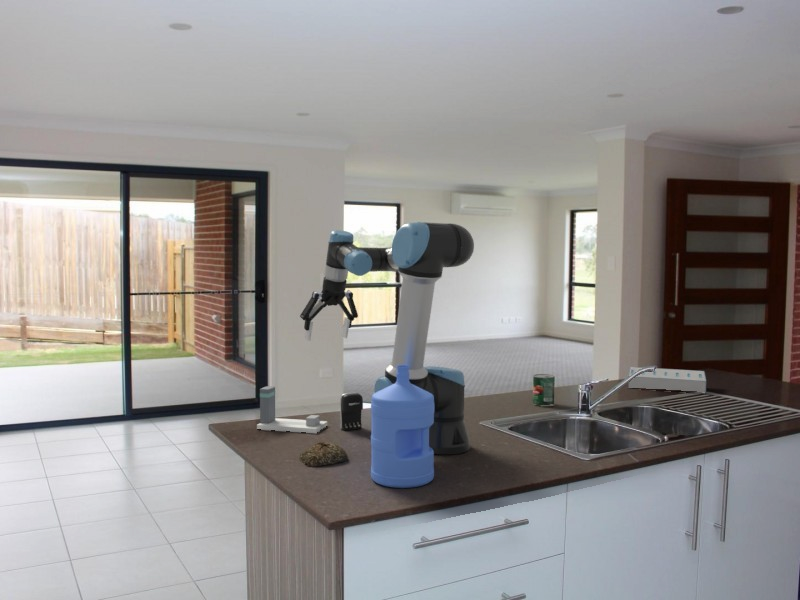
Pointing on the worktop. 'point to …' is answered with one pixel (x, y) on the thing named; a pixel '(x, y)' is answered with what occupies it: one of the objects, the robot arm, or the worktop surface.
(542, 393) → the canned tomato
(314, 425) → the mount
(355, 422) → the battery charger
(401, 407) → the water jug
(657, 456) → the worktop surface
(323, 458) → the bread roll
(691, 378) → the dotted white bar
